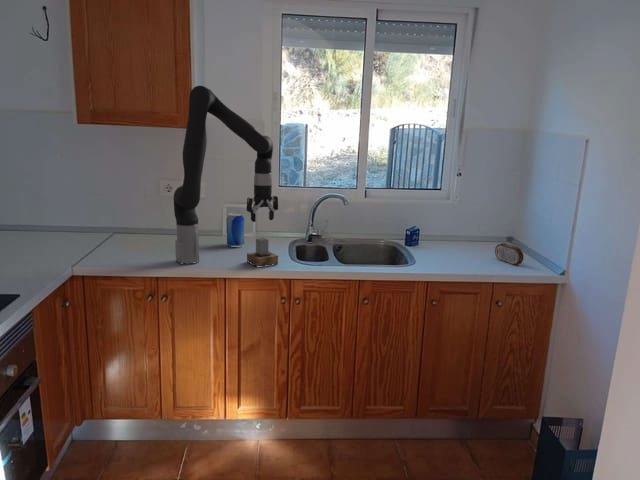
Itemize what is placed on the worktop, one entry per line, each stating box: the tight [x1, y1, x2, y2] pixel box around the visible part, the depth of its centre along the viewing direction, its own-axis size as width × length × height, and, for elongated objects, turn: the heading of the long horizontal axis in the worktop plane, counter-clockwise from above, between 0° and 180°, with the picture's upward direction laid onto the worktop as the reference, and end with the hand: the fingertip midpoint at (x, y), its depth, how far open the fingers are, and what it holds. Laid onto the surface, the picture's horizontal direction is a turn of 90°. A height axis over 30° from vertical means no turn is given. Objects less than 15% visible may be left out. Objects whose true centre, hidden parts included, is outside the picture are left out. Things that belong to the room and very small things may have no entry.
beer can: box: [226, 212, 245, 247], centre depth 263 cm, size 8×8×16 cm
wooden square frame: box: [246, 250, 279, 266], centre depth 238 cm, size 10×10×4 cm
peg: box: [255, 237, 269, 257], centre depth 237 cm, size 4×4×11 cm
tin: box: [494, 242, 524, 266], centre depth 251 cm, size 15×3×8 cm, turn 30°
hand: (262, 220), depth 233 cm, fingers open, 8 cm apart
